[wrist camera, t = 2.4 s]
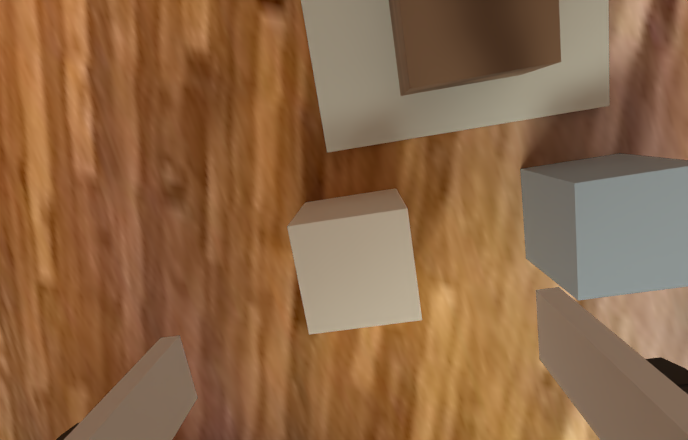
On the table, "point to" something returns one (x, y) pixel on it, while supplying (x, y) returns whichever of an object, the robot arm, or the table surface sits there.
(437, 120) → the plate
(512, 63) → the base brick
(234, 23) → the table surface
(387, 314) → the brick
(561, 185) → the brick
